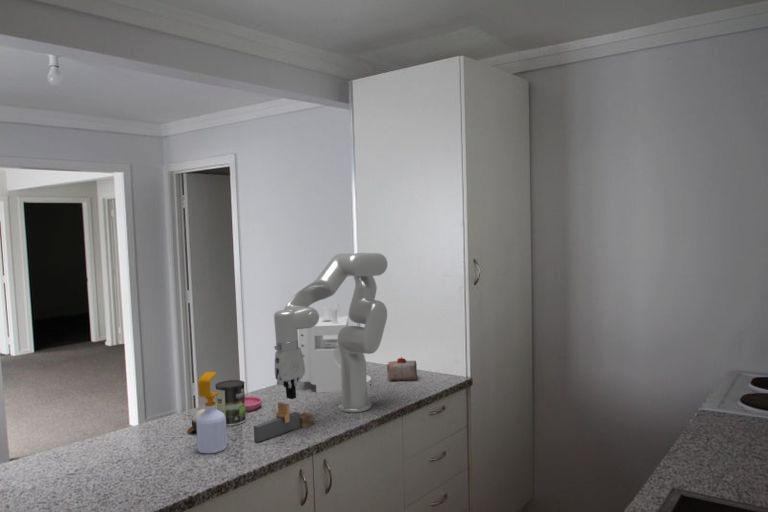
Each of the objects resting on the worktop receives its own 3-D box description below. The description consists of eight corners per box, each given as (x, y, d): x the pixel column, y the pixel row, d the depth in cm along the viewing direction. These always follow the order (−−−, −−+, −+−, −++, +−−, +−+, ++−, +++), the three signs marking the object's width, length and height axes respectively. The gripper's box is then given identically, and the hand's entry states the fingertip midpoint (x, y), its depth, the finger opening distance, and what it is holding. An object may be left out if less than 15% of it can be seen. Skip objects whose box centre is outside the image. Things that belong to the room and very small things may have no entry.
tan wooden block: (280, 419, 209) (280, 401, 208) (289, 421, 206) (288, 404, 205) (276, 420, 207) (275, 403, 207) (285, 423, 204) (284, 405, 204)
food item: (386, 382, 268) (386, 360, 268) (387, 377, 276) (386, 356, 276) (417, 381, 268) (417, 359, 267) (417, 377, 276) (416, 355, 275)
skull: (196, 420, 220) (212, 400, 218) (215, 441, 218) (232, 421, 216) (177, 430, 208) (194, 409, 206) (197, 452, 206) (214, 431, 204)
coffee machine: (305, 379, 278) (301, 304, 277) (370, 376, 279) (367, 301, 277) (299, 394, 254) (295, 312, 253) (371, 390, 255) (367, 308, 253)
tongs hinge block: (305, 421, 217) (305, 412, 217) (313, 424, 214) (313, 414, 214) (294, 425, 213) (294, 415, 213) (303, 428, 211) (302, 418, 210)
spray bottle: (232, 445, 196) (229, 370, 195) (216, 455, 188) (212, 377, 186) (209, 442, 199) (205, 369, 198) (191, 452, 191) (188, 375, 189)
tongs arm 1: (295, 425, 212) (295, 411, 212) (297, 426, 212) (297, 412, 212) (254, 440, 199) (253, 425, 198) (256, 441, 198) (255, 426, 198)
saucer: (267, 409, 235) (267, 401, 234) (236, 415, 227) (236, 407, 227) (254, 402, 245) (254, 394, 245) (224, 408, 238) (224, 400, 237)
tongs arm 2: (298, 426, 212) (297, 412, 211) (300, 427, 211) (299, 413, 211) (256, 441, 198) (255, 426, 198) (258, 442, 197) (257, 427, 197)
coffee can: (250, 417, 224) (249, 380, 224) (238, 426, 214) (236, 387, 214) (225, 416, 226) (223, 379, 226) (211, 425, 216) (210, 386, 216)
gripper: (277, 352, 200) (281, 406, 201) (311, 342, 211) (314, 393, 212) (263, 349, 204) (267, 402, 206) (296, 340, 216) (300, 390, 217)
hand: (291, 397), depth 209 cm, fingers closed
